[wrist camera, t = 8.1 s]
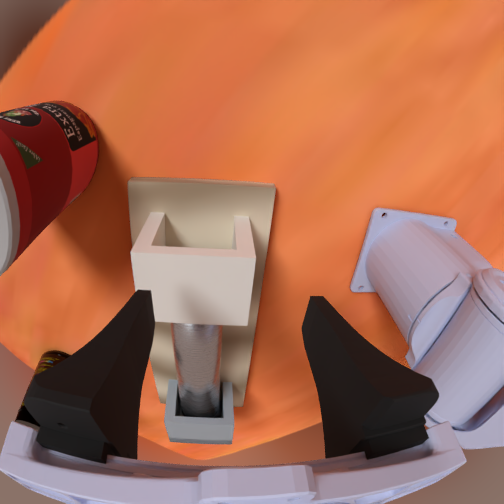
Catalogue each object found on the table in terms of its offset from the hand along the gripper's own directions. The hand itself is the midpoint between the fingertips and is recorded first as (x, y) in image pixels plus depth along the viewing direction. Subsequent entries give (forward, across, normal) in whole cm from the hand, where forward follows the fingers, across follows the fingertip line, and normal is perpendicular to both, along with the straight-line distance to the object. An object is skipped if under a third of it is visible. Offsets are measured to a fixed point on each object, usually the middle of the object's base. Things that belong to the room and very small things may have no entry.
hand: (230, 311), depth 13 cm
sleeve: (+10, +2, +2) cm, 10 cm away
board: (+10, +2, +10) cm, 14 cm away
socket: (+9, +2, +21) cm, 23 cm away
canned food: (+10, +13, -5) cm, 17 cm away
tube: (+9, +2, +12) cm, 15 cm away
